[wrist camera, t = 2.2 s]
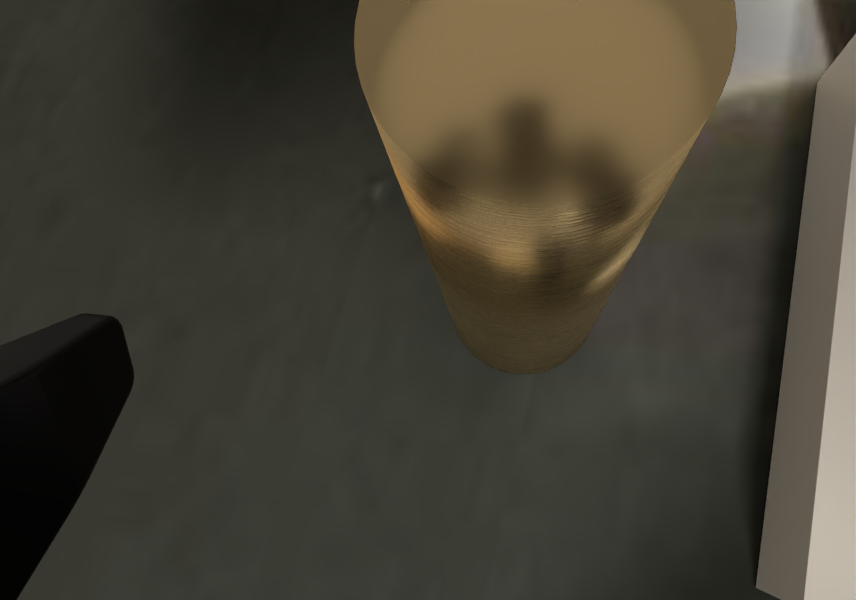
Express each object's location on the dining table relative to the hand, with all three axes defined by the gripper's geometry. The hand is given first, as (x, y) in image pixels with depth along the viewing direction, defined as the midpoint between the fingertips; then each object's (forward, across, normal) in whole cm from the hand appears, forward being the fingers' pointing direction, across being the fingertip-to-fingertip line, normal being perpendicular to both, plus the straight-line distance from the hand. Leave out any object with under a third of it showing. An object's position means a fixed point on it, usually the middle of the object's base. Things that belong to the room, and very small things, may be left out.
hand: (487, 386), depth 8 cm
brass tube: (+11, 0, +6) cm, 12 cm away
